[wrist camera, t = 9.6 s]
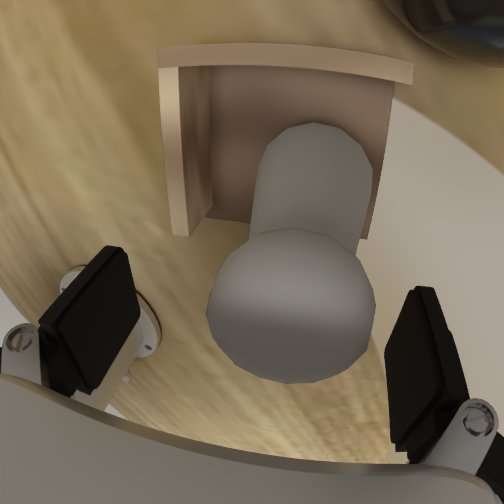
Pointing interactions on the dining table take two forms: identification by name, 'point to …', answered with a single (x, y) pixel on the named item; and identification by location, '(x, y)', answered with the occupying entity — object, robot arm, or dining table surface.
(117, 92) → the dining table surface
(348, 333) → the salt shaker
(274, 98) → the corner tray
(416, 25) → the pump dispenser
